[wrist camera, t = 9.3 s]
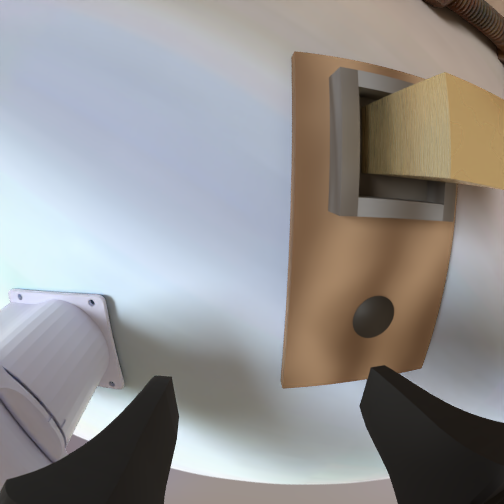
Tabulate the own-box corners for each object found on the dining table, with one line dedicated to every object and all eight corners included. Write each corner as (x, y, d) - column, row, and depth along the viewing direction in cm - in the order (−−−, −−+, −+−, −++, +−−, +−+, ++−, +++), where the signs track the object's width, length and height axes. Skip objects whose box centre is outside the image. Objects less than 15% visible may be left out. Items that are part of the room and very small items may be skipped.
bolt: (372, -26, 14) (497, 53, 16) (379, -11, 13) (514, 81, 14) (394, -70, 9) (524, 22, 10) (407, -63, 7) (547, 49, 9)
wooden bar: (361, 173, 16) (450, 178, 8) (361, 107, 15) (445, 72, 7) (415, 179, 16) (509, 191, 9) (415, 118, 15) (506, 101, 7)
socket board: (280, 380, 21) (286, 406, 18) (291, 57, 15) (302, 37, 12) (416, 362, 21) (432, 381, 18) (446, 91, 16) (471, 85, 13)
